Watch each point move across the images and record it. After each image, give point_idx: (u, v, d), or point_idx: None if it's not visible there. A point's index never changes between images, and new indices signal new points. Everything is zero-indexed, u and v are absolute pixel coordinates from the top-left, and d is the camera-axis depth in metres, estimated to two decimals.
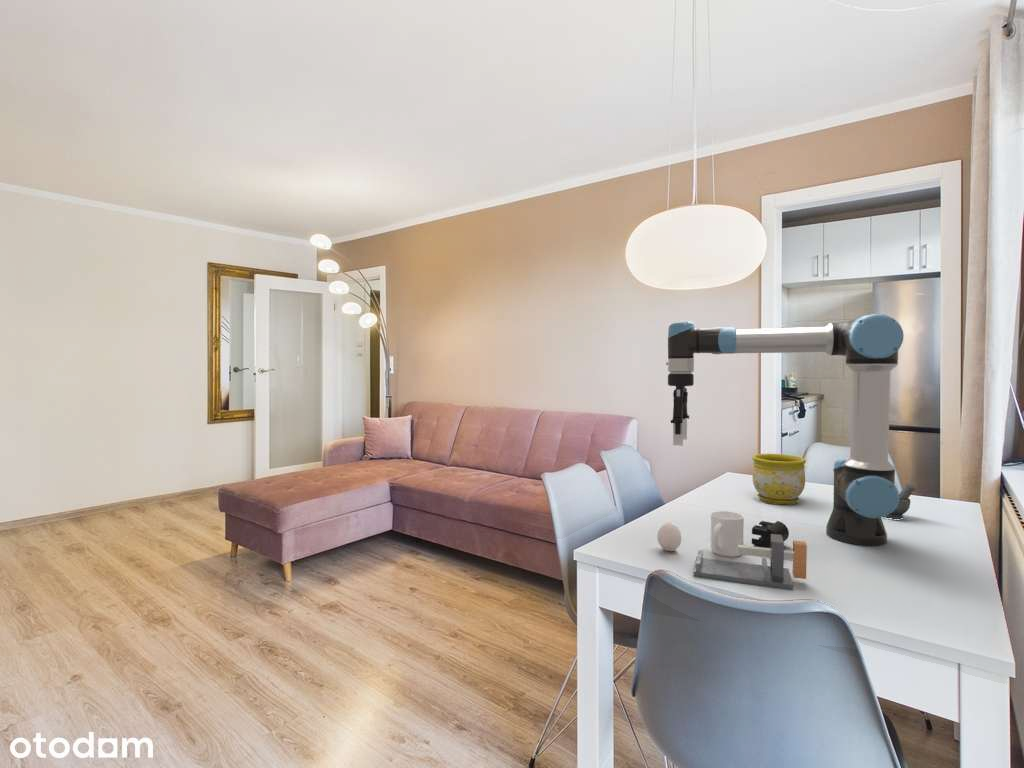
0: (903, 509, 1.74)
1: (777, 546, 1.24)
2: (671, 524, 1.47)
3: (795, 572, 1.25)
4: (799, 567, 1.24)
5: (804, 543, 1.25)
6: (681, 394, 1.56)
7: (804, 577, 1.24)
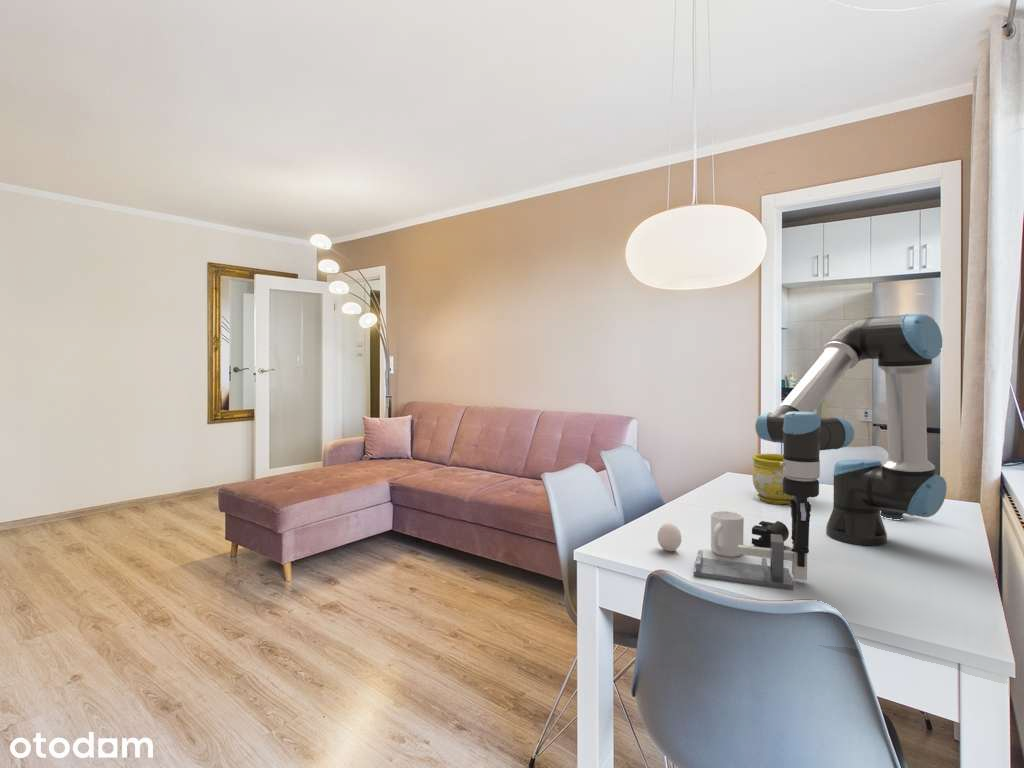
0: None
1: (777, 546, 1.24)
2: (671, 524, 1.47)
3: None
4: None
5: None
6: (807, 519, 1.19)
7: None
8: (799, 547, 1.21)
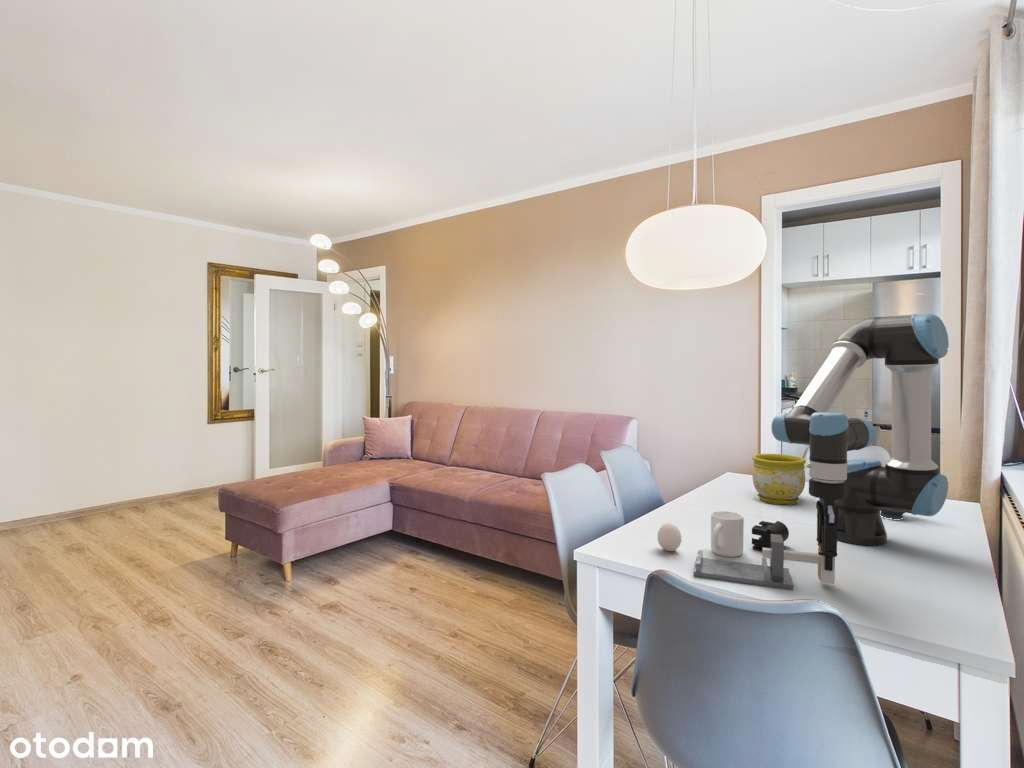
0: None
1: (777, 546, 1.24)
2: (671, 524, 1.47)
3: None
4: None
5: None
6: (836, 521, 1.17)
7: None
8: (827, 550, 1.18)
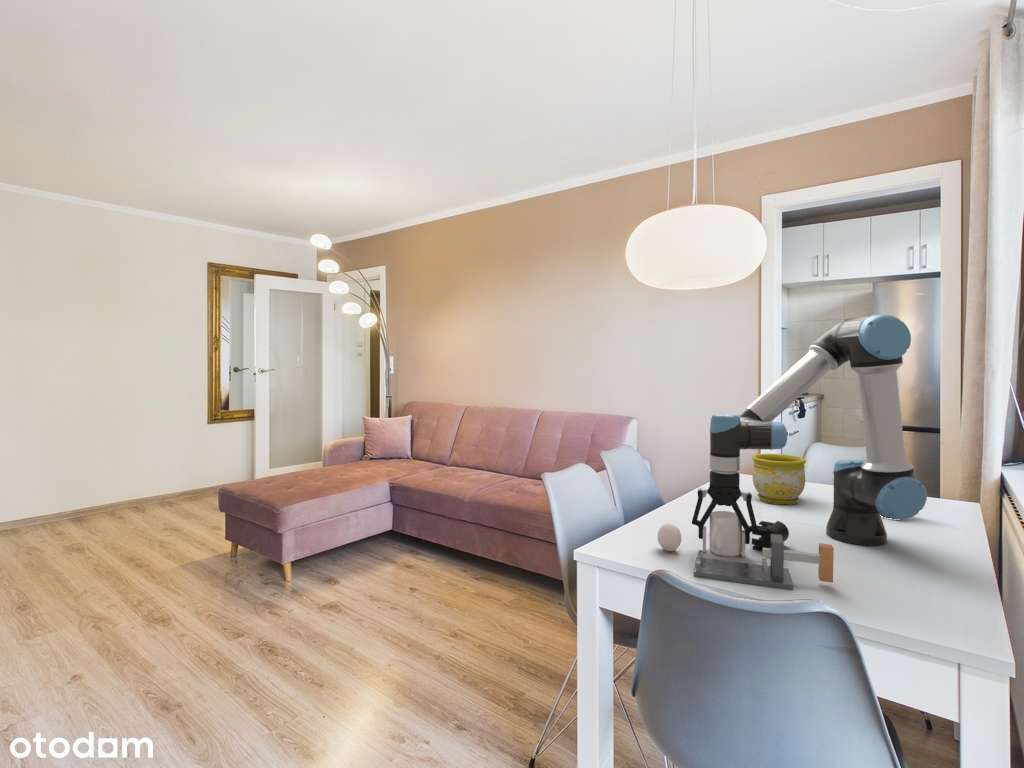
0: None
1: (777, 546, 1.24)
2: (671, 524, 1.47)
3: (821, 575, 1.23)
4: (826, 570, 1.22)
5: (831, 546, 1.23)
6: None
7: (831, 581, 1.22)
8: None
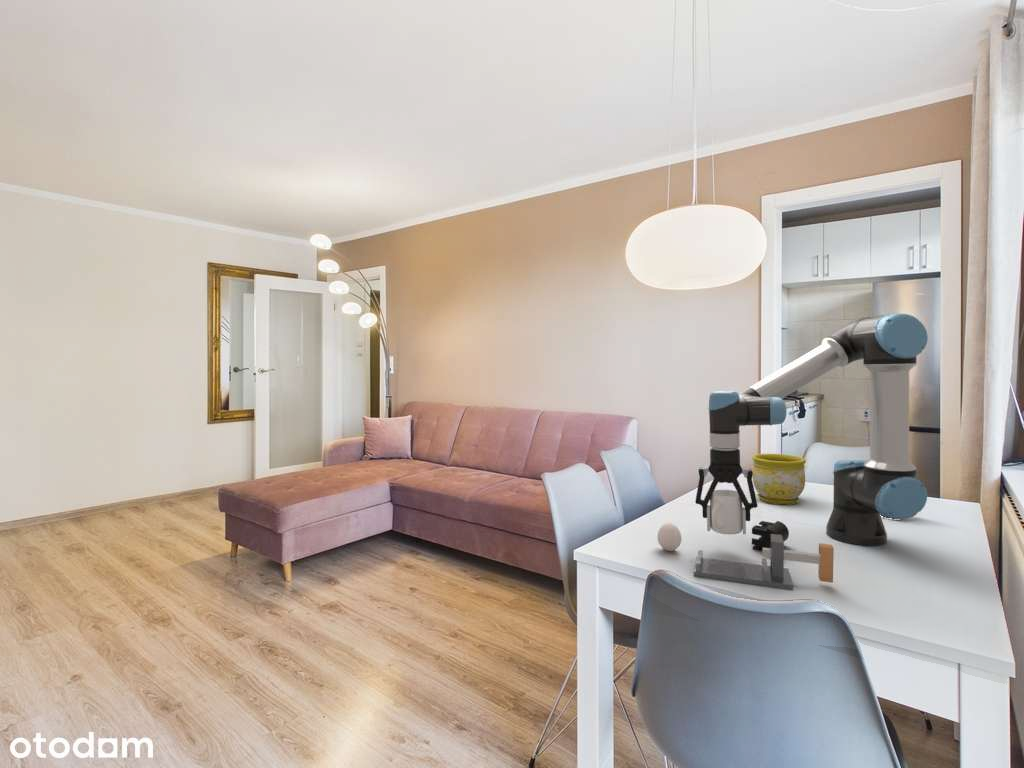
0: None
1: (777, 546, 1.24)
2: (671, 524, 1.47)
3: (821, 575, 1.23)
4: (826, 570, 1.22)
5: (831, 546, 1.23)
6: (699, 474, 1.46)
7: (831, 581, 1.22)
8: None
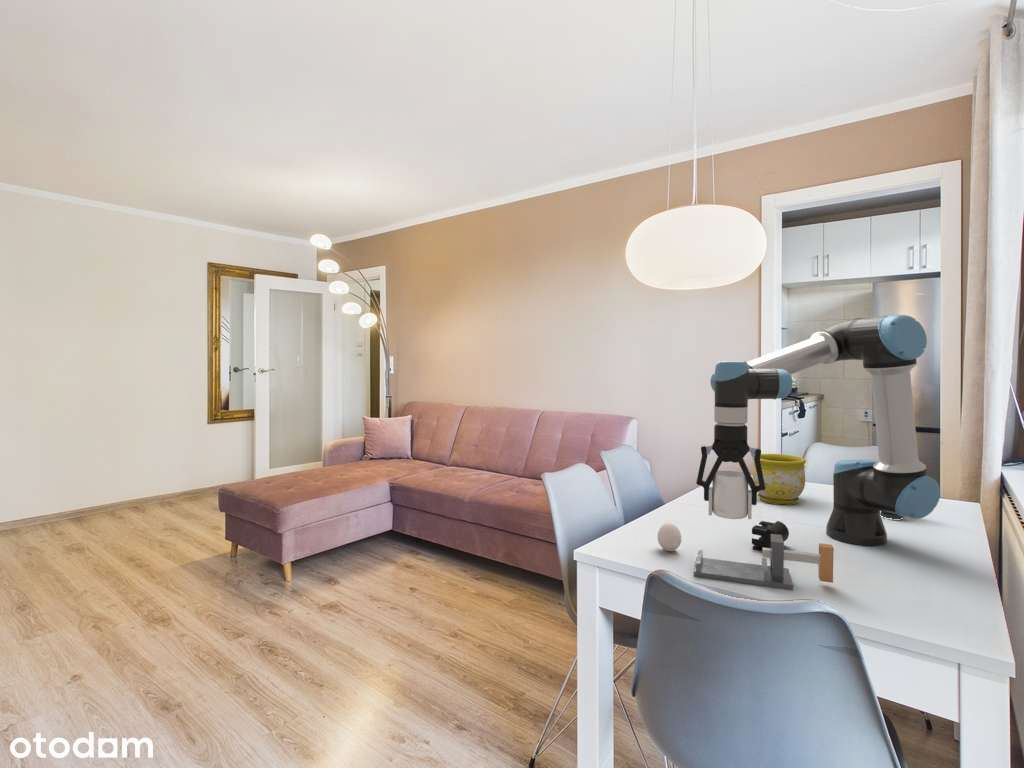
0: None
1: (777, 546, 1.24)
2: (671, 524, 1.47)
3: (821, 575, 1.23)
4: (826, 570, 1.22)
5: (831, 546, 1.23)
6: None
7: (831, 581, 1.22)
8: None
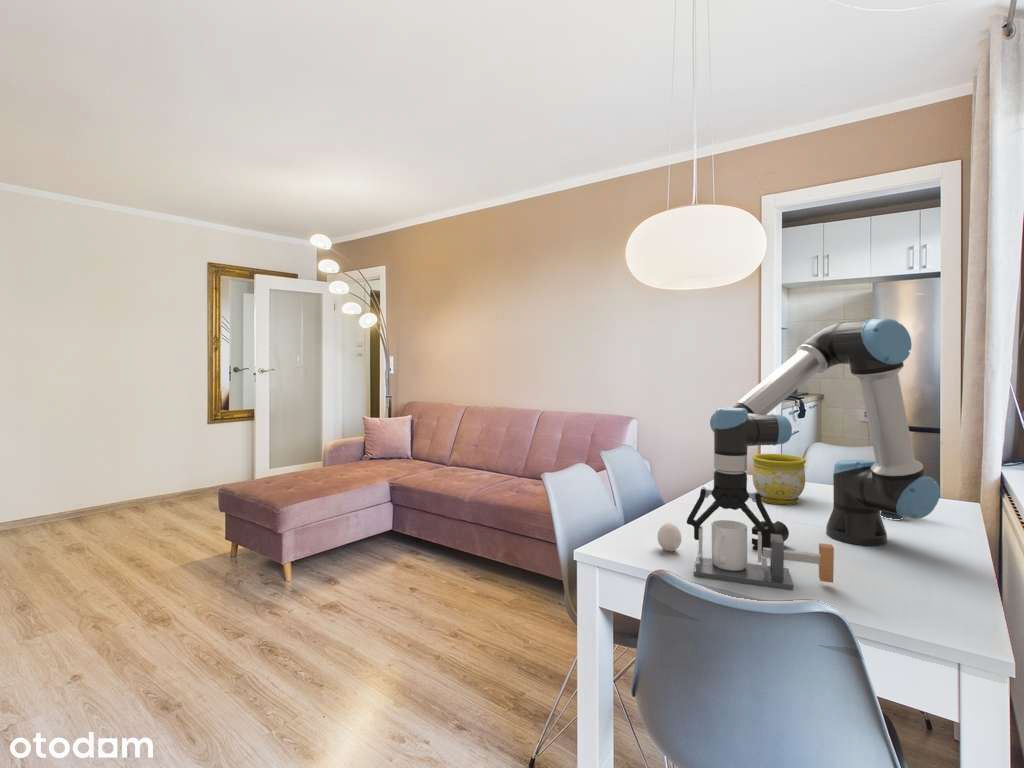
0: None
1: (777, 546, 1.24)
2: (671, 524, 1.47)
3: (822, 575, 1.23)
4: (826, 570, 1.22)
5: (831, 546, 1.23)
6: (700, 494, 1.33)
7: (831, 581, 1.22)
8: None
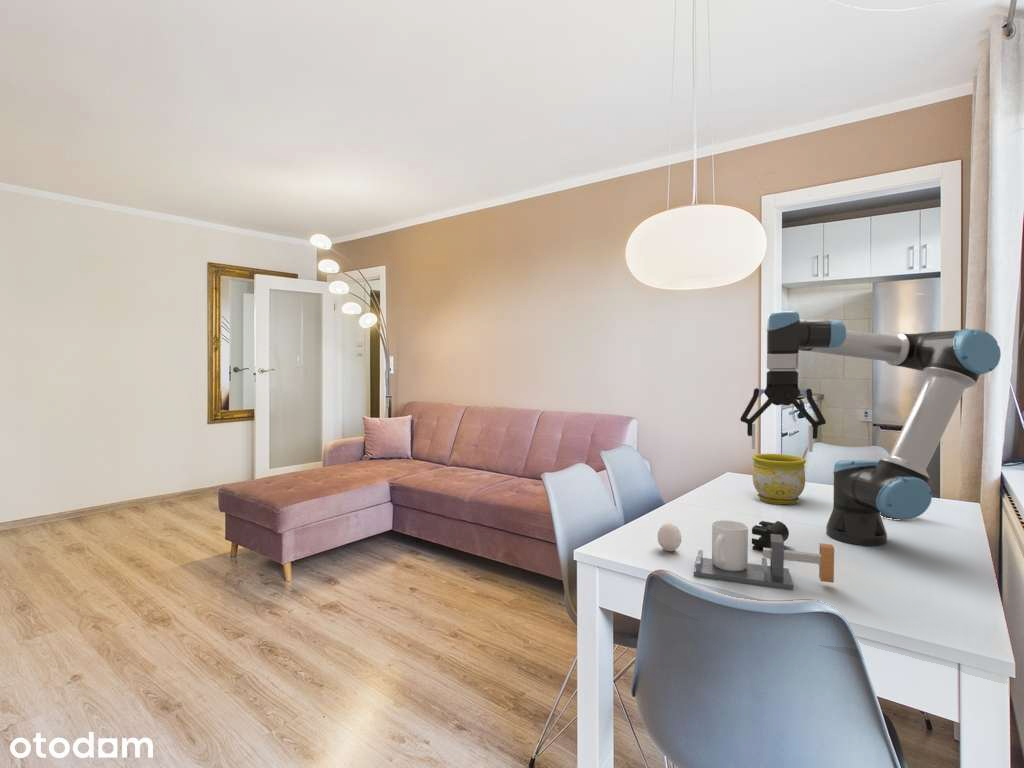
0: None
1: (777, 546, 1.24)
2: (671, 524, 1.47)
3: (822, 575, 1.23)
4: (826, 571, 1.22)
5: (831, 546, 1.23)
6: (753, 393, 1.44)
7: (831, 581, 1.22)
8: None
